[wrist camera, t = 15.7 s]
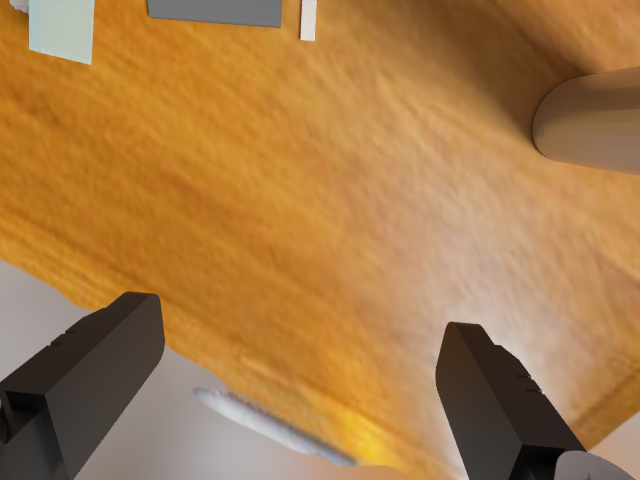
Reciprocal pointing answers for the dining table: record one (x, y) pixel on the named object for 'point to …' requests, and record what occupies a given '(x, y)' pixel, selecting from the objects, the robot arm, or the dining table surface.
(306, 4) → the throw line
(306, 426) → the dining table surface
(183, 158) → the dining table surface
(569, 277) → the dining table surface
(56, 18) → the l-shaped corner panel
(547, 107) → the robot arm
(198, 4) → the mat
